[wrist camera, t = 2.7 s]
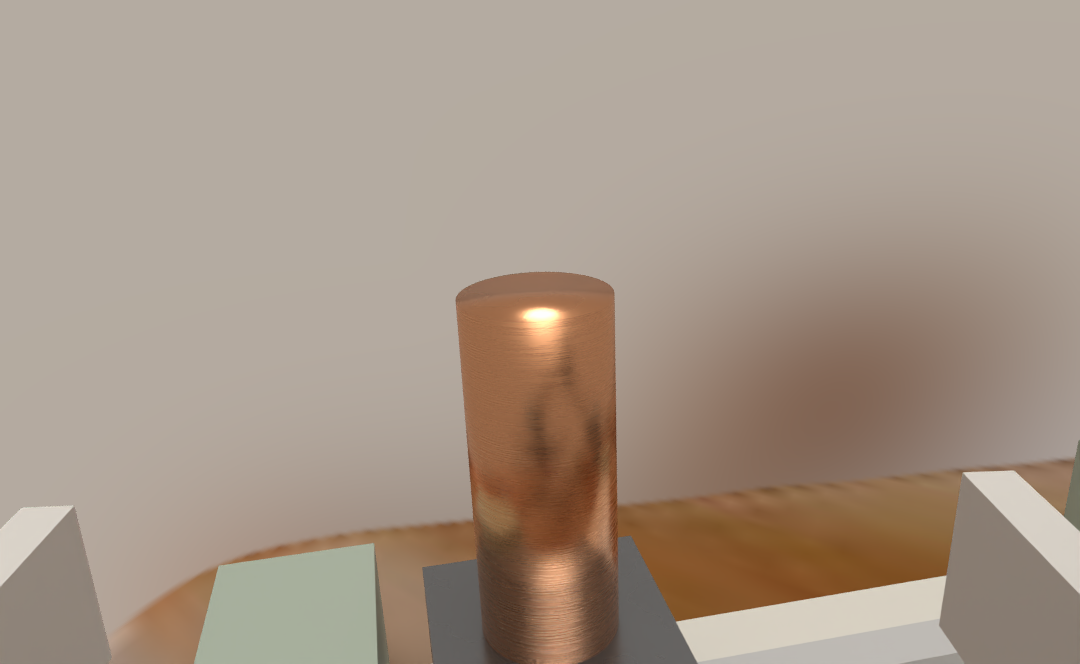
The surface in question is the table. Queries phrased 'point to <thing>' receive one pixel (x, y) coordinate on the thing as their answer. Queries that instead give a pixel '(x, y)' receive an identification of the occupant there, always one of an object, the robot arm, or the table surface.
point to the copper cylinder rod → (544, 489)
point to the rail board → (715, 641)
